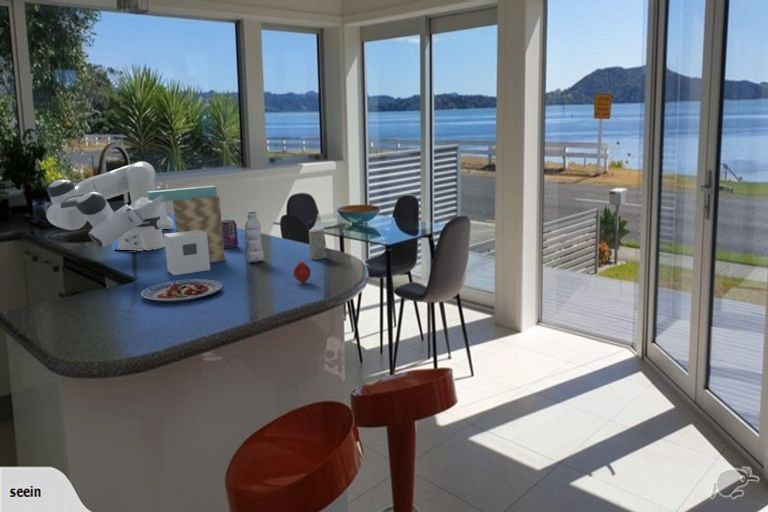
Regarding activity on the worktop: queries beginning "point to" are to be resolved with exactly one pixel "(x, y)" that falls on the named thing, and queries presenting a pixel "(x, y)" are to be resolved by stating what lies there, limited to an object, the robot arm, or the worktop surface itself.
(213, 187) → the teal block
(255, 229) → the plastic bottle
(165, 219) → the flower vase
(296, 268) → the red pomegranate
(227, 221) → the beverage can
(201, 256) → the white box
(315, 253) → the carving
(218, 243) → the oak stand
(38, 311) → the worktop surface
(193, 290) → the ceramic plate
